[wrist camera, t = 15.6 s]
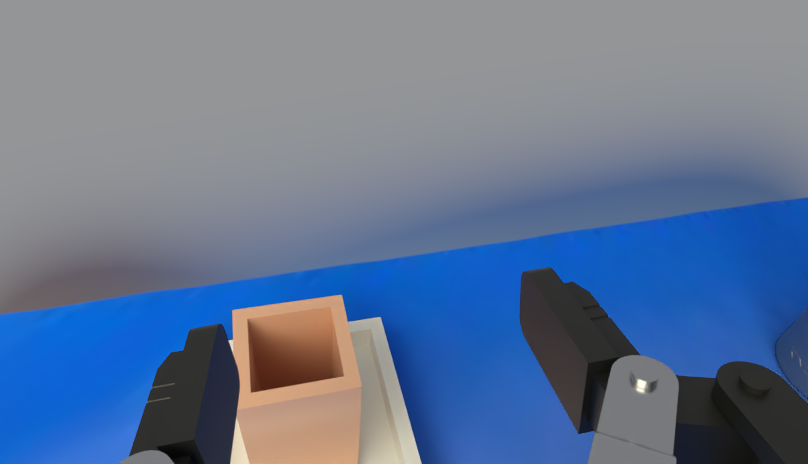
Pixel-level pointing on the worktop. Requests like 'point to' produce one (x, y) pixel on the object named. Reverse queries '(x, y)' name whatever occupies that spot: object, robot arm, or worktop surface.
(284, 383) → the cup
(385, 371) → the tray
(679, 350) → the worktop surface
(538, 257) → the worktop surface
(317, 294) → the worktop surface
